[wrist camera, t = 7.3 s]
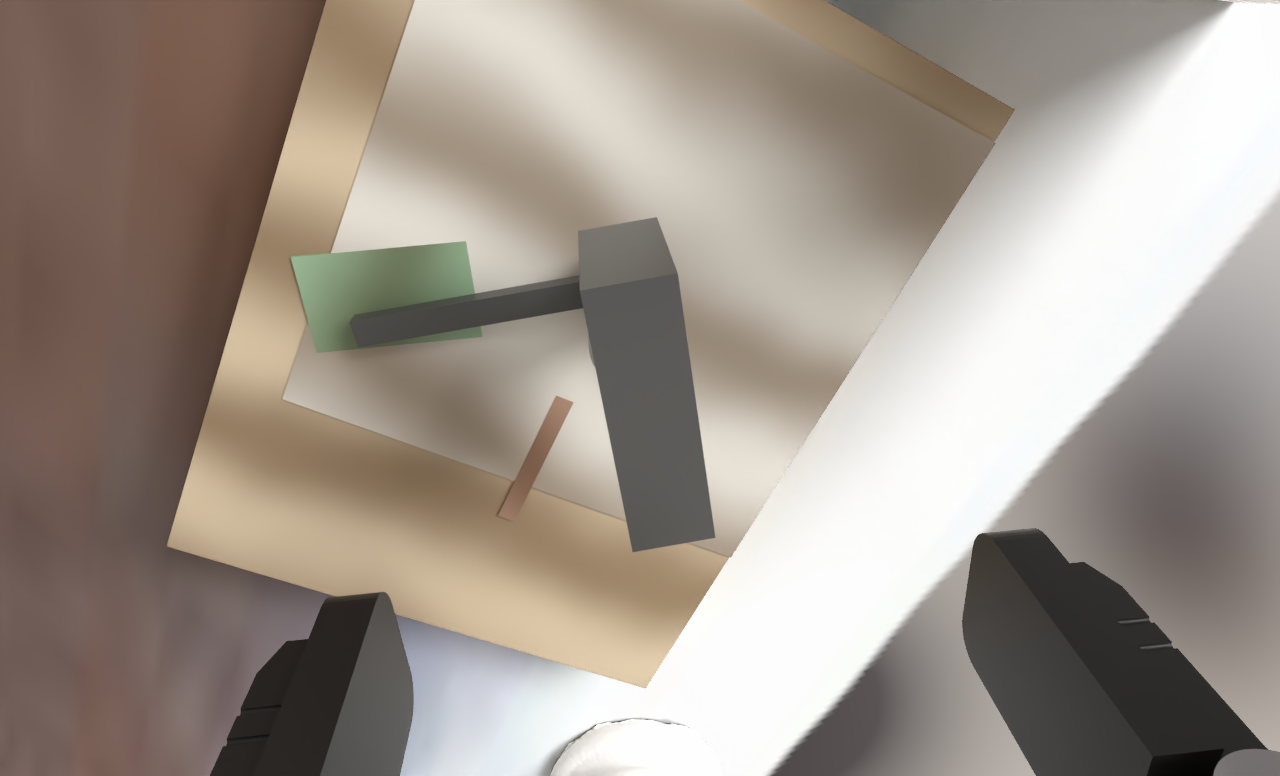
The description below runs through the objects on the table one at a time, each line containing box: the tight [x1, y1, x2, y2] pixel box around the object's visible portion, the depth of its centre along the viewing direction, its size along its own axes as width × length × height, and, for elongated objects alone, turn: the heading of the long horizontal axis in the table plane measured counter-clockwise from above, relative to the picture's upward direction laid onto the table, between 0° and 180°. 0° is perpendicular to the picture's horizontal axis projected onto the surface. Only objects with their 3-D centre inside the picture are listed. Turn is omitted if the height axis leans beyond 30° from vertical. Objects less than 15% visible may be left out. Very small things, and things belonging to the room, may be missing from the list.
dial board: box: [167, 0, 1014, 688], centre depth 27 cm, size 24×18×4 cm
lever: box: [349, 217, 715, 552], centre depth 20 cm, size 9×6×9 cm, turn 99°
